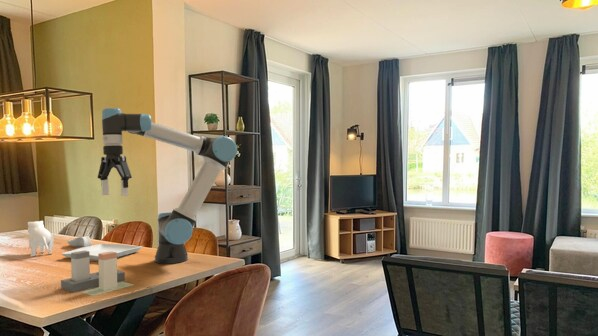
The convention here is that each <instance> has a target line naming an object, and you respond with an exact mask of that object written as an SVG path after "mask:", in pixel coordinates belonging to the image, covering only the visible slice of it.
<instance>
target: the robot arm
mask: <svg viewBox="0 0 598 336" xmlns="http://www.w3.org/2000/svg"><path fill="white" fill-rule="evenodd" d="M101 125H102V126H101V127H102V142H103V143H102V144H103V146H102V147H103V148H102V151H103V155H105V156H101V158H100V159H101V160H100V165H99V170H98V174H97V179H99V180H100V182H101V183H100V185H101V186H100V187H101V196H108V195H110V194H109V192H110V190H109V189H110V187H109V179H108V178H109V175H110V173H111V170H112V169H113V168H114V169H116V171H117V173H118V175H119V176H120V196H121V197H127V196H129V179H132V178H133V177H132V174H131V170H130V168H129V165H128V162H127V157H126V155H124V156H123V154H124V149H123V143H124V142H123V132H127V133H129V134H132V135H138V136H142V137H145V138H148V139H152V140H155V141H158V142H161V143H166V144H168V145H172V146H174V147H179V148H181V149H185V150H187V151H191V152H194V153H195V155H198V156H200V157H202V158H203V163H202V164H201V167H200V168H199V170H198V172H197V174H196V176H195V178H194V179H193V180H192V183H191V185H190V186H189V189H188V190H187V192H186V193H185V195H184V197H183V198H182V200H181V203H180V204H179V206H178V207H176V208H173V210H172V211H171V212H161V213H159V214H158V216H157V225H158V226H157V229H158V230H157V232H158V234H157V235H158V239H157V240H158V244H157V245H158V246H157V248H156V251H155V255H154V262H155V263H157V264H163V265H165V264H167V265H168V264H178V263H183V262H185V261H188V259H189V254H188V252H187V249H186V246H185V244H186V243H187V242H188V241H189V240H190V239H191V238H192V235H193V231H194V227H195V225H196V223H197V214H198V212H199V211H200V208H201V207H202V205H203V203H204V202H205V200H206V198H207V197H208V194H209V193H210V191H211V188H213V186H214V183H215V182H216V180H217V179H218V176H219V174H220V173H221V171H223V170H226V168H227V166H228V165H229V164H230V161H232V160H233V159H234V158H236V156H237V153H238V145H237V144H236V141H234V140H233V138H231V137H228V136H225V135H220V136H218V137H208V136H205V135H200V136H199V135H198V136H197V135H193V134H190V133H188V132H185V131H182V130H178V129H175V128H171V127H168V126H165V125H163V124H159V123H155V122H153V121H152V116H151V115H150V114H149V113H124V112H123V113H122V110H121V109H120V108H117V107H114V108H113V107H105V108H103V109H102V110H101Z"/></svg>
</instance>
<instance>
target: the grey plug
mask: <svg viewBox="0 0 598 336" xmlns="http://www.w3.org/2000/svg"><path fill="white" fill-rule="evenodd" d="M90 261H91V260H89V251H85V250H84V251H79V252H73V253H71V258H70V262H71V263H70V266H71V267H70V268H71V270H70V272H71V276H70V278H72V281H74V282H78V281H82V280H86V279H90V274H91V273H90V270H91V269H90Z"/></svg>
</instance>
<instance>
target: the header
mask: <svg viewBox="0 0 598 336" xmlns="http://www.w3.org/2000/svg"><path fill="white" fill-rule="evenodd" d="M125 280H126V272H125V271H122V270H118V269H117V283H118V282H123V281H125ZM60 288H61V290H65V291H67V292H70V293H73V294H74V293H77V292H83V291H87V290H91V289H95V288H99V271H96V272H92V273H90V279H86V280H82V281H78V282H74V281H72V277H70V278H64V279H61V280H60Z"/></svg>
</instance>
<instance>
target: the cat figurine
mask: <svg viewBox="0 0 598 336" xmlns="http://www.w3.org/2000/svg"><path fill="white" fill-rule="evenodd" d="M23 231H25V229H24V230H23ZM27 232H28V240H29V241H28V245H29V248H30V250H31V252H30V257H32V258H33V257H36V254H38V253H37V251H38V248H39V247H40V253H41V254H42V253H46V252H45V250H46V251H48V250H49V251H48V252H47V254H48V255H53V248H54V238H55V237H54V234H52V233H51V232H50V230H48V229H47V228H45V225H44V220H39V221H38V220H37V221H36V220H35V221H28V222H27ZM37 247H38V248H37Z"/></svg>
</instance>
